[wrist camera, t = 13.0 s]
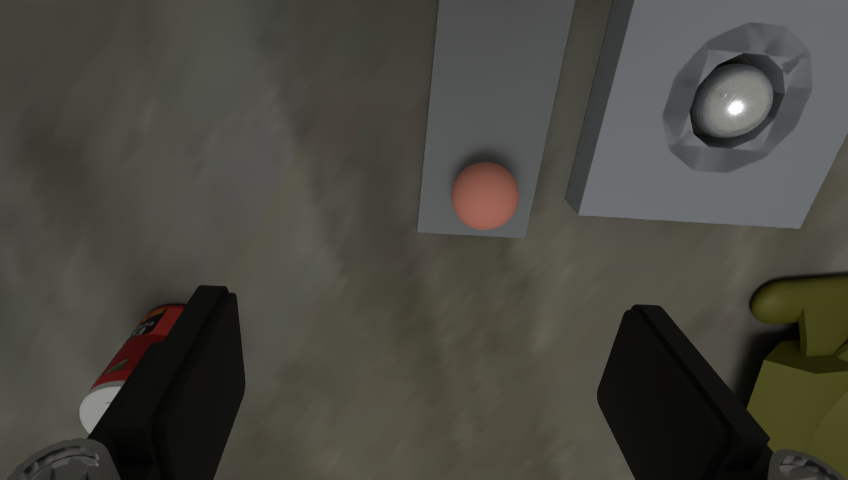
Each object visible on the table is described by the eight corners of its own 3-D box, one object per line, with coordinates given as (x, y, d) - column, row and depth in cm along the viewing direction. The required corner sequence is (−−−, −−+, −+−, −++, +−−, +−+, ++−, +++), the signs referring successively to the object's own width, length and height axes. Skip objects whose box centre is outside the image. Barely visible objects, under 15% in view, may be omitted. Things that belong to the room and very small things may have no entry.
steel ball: (689, 55, 38) (731, 67, 34) (754, 61, 39) (805, 73, 34) (666, 124, 41) (702, 144, 36) (727, 129, 41) (771, 149, 37)
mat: (453, -158, 31) (454, -160, 31) (602, -138, 32) (605, -140, 32) (416, 230, 44) (417, 232, 44) (524, 236, 45) (525, 238, 45)
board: (628, -63, 34) (652, -67, 31) (884, -33, 36) (931, -34, 33) (565, 198, 44) (578, 215, 40) (772, 211, 45) (799, 228, 42)
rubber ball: (451, 150, 40) (459, 173, 36) (516, 155, 41) (533, 178, 36) (444, 210, 43) (451, 240, 38) (505, 214, 44) (519, 243, 39)
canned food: (154, 290, 46) (89, 373, 36) (237, 321, 48) (197, 407, 38) (132, 347, 49) (67, 438, 39) (212, 374, 51) (169, 466, 41)
